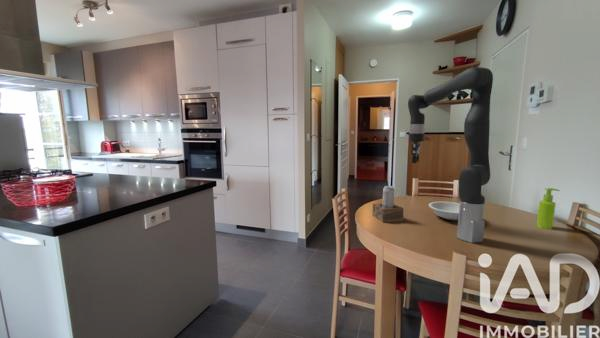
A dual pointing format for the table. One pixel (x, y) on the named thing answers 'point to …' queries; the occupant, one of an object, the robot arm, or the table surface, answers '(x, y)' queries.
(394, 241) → the table surface
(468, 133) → the robot arm
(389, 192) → the energy drink can
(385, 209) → the square wooden frame
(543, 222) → the soap dispenser
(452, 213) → the white vessel sink
